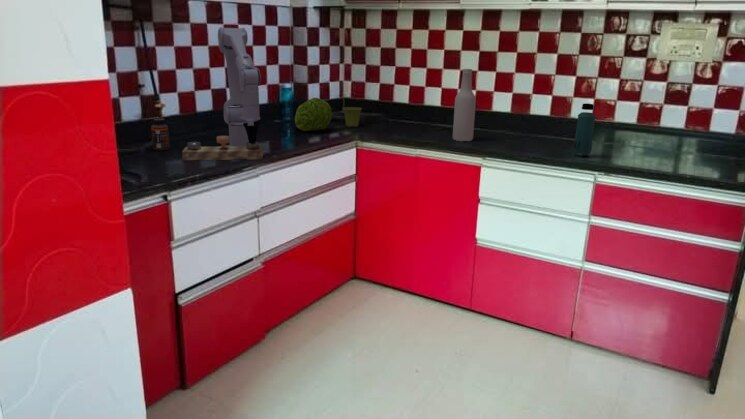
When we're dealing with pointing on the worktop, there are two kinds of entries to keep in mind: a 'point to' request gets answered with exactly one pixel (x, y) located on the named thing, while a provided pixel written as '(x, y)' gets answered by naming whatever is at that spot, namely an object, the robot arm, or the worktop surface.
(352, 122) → the plant pot
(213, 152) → the knob bar
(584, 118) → the beverage bottle
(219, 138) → the pot knob
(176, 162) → the worktop surface
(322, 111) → the lettuce
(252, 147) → the knob
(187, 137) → the worktop surface
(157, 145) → the supplement bottle
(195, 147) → the knob
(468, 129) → the alcohol
